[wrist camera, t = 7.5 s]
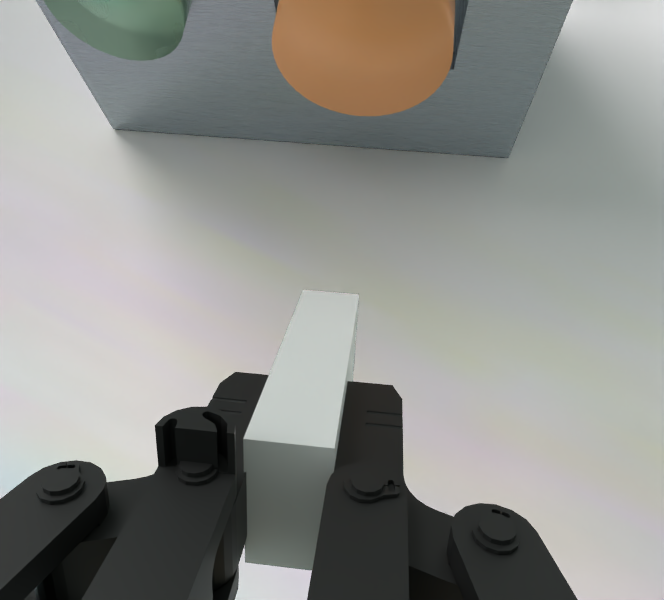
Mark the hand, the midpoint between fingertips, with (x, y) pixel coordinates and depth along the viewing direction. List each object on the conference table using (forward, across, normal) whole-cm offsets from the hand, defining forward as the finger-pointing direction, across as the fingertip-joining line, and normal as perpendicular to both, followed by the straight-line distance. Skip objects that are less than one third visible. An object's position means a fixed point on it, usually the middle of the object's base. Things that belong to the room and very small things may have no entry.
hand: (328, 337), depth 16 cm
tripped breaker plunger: (+14, 0, +10) cm, 17 cm away
